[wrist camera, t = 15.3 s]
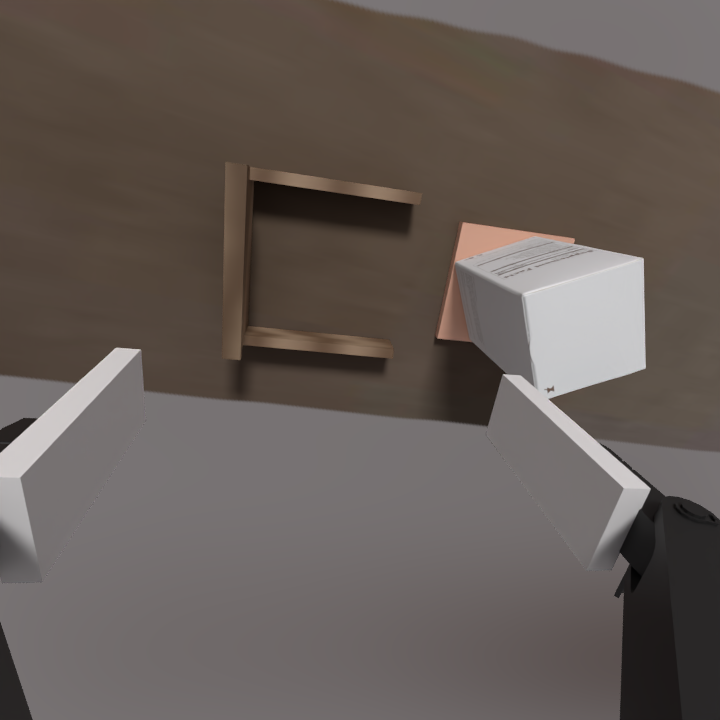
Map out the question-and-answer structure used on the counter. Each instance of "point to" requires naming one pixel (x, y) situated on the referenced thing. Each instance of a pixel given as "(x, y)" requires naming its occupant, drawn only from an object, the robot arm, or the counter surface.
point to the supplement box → (556, 312)
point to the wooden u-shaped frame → (239, 265)
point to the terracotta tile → (467, 245)
